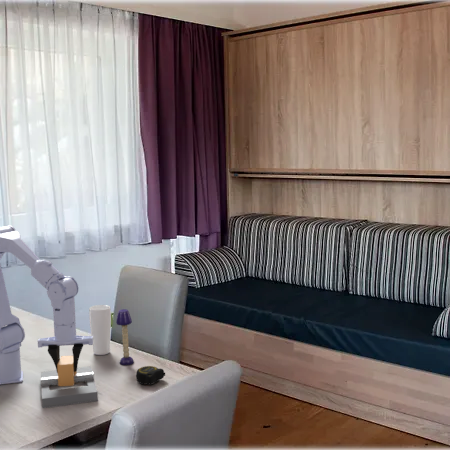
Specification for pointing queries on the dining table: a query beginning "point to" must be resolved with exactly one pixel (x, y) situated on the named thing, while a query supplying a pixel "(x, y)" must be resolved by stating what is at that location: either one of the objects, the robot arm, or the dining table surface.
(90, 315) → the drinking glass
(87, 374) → the hook bar
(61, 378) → the tall orange box
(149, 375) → the tape measure
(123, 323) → the toy lamp
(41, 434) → the dining table surface
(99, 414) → the dining table surface
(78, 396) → the gray rectangular frame
